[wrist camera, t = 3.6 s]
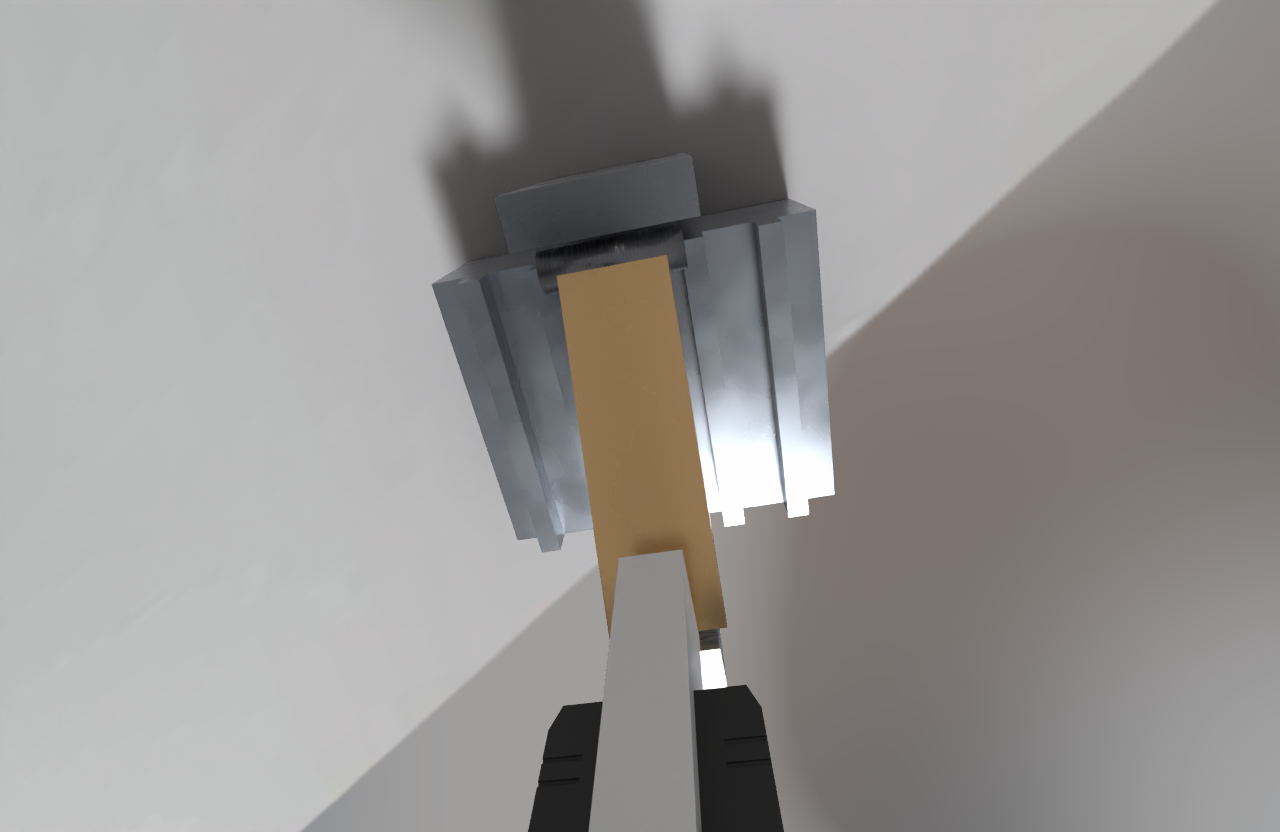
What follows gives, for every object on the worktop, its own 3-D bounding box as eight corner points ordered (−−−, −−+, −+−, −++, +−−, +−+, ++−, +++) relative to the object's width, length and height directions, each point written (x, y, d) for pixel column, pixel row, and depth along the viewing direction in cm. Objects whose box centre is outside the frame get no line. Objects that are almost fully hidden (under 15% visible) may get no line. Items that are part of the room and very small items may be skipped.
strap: (598, 631, 16) (590, 645, 15) (545, 259, 17) (533, 244, 16) (744, 613, 16) (747, 626, 15) (682, 232, 17) (679, 215, 15)
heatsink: (545, 513, 27) (481, 724, 17) (450, 201, 21) (273, 248, 12) (811, 474, 26) (906, 676, 16) (782, 131, 20) (900, 117, 10)
